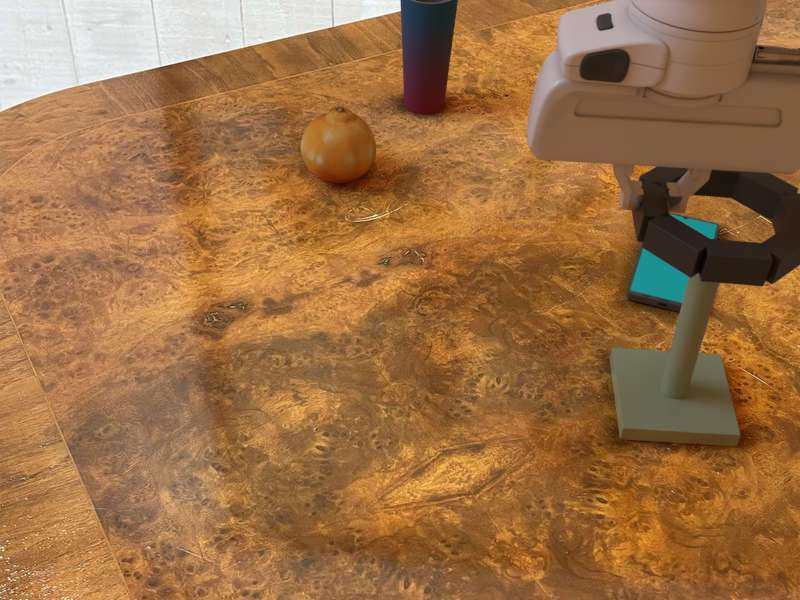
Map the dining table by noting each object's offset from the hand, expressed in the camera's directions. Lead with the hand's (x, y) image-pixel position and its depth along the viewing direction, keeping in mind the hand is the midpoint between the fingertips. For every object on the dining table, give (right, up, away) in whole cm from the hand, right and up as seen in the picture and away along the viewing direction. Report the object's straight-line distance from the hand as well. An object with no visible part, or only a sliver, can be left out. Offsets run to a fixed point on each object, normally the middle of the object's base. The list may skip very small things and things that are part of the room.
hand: (650, 207), depth 82 cm
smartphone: (+9, -3, +28) cm, 30 cm away
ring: (+5, -2, +1) cm, 6 cm away
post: (+5, -16, +14) cm, 22 cm away
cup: (-16, +17, +51) cm, 56 cm away
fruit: (-26, +7, +40) cm, 48 cm away
